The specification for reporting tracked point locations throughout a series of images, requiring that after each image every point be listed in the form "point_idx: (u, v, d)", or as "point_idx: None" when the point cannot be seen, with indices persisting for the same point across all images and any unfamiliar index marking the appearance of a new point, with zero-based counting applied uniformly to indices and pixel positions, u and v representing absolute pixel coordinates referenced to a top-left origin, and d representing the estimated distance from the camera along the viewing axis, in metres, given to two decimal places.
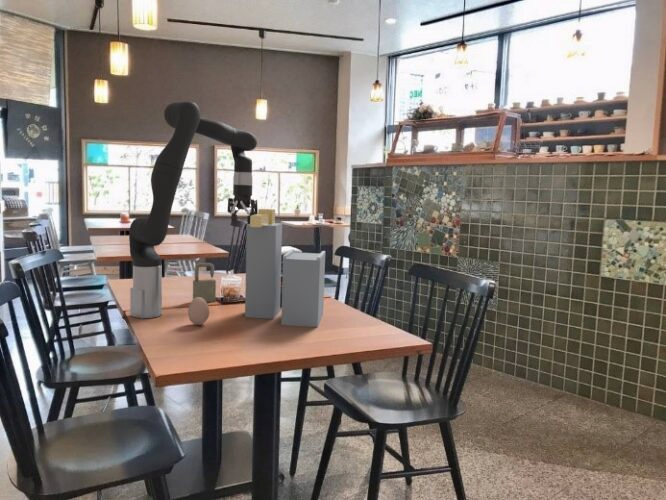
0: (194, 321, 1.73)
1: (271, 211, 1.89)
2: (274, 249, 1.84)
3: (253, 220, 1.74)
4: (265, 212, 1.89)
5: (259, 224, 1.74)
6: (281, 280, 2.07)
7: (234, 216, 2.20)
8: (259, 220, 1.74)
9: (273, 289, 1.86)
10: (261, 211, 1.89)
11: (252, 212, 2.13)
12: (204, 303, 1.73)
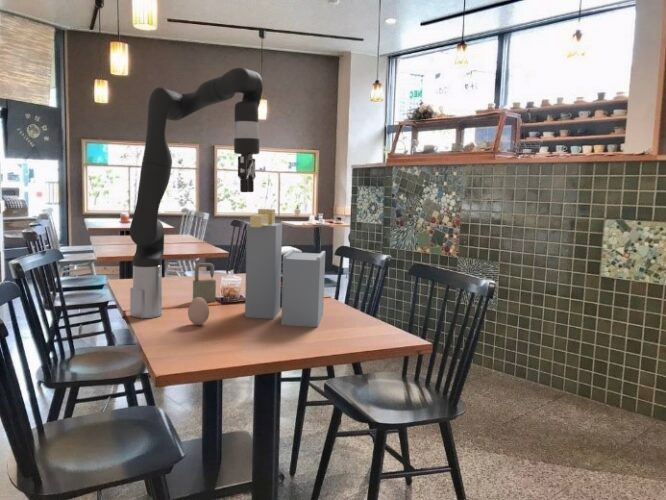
0: (194, 321, 1.73)
1: (271, 211, 1.89)
2: (274, 249, 1.84)
3: (253, 220, 1.74)
4: (265, 212, 1.89)
5: (259, 224, 1.74)
6: (281, 280, 2.07)
7: None
8: (259, 220, 1.74)
9: (273, 289, 1.86)
10: (261, 211, 1.89)
11: (255, 175, 1.71)
12: (204, 303, 1.73)
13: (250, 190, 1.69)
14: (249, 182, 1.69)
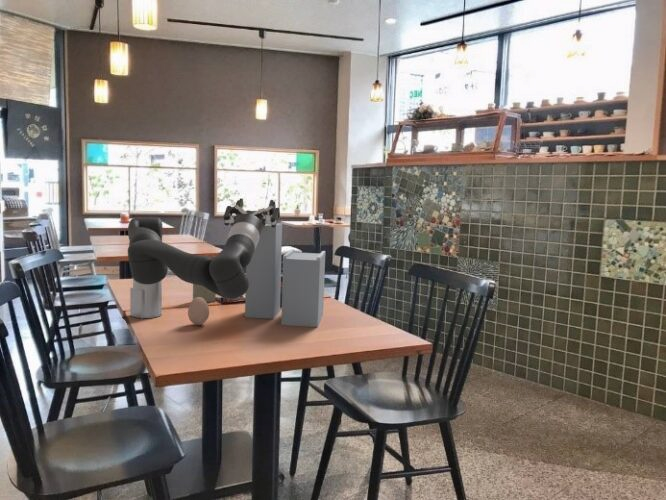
0: (194, 321, 1.73)
1: None
2: (274, 249, 1.84)
3: None
4: None
5: None
6: (281, 280, 2.07)
7: None
8: None
9: (273, 289, 1.86)
10: None
11: (228, 207, 1.46)
12: (204, 303, 1.73)
13: (242, 201, 1.50)
14: (240, 207, 1.48)
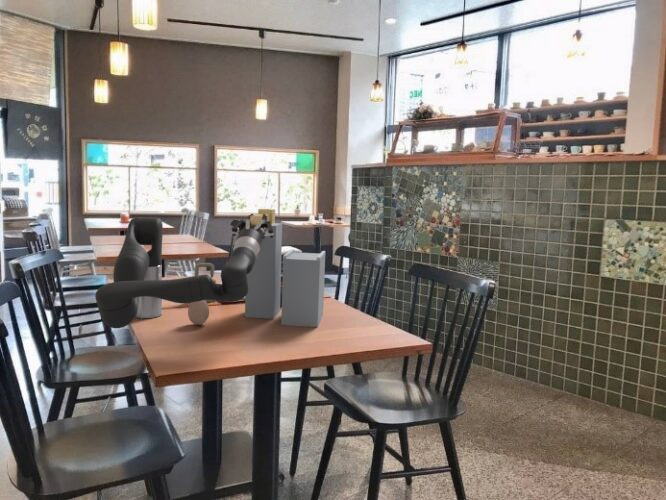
0: (194, 321, 1.73)
1: (271, 211, 1.89)
2: (274, 249, 1.84)
3: (253, 220, 1.74)
4: (265, 212, 1.89)
5: None
6: (281, 280, 2.07)
7: None
8: (259, 220, 1.74)
9: (273, 289, 1.86)
10: (261, 211, 1.89)
11: (241, 221, 1.74)
12: (204, 303, 1.73)
13: None
14: None
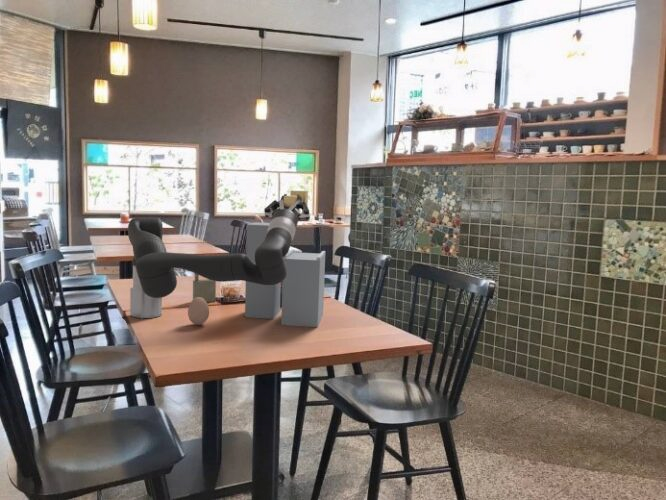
0: (194, 321, 1.73)
1: (304, 193, 1.76)
2: None
3: (287, 201, 1.62)
4: (298, 194, 1.77)
5: None
6: None
7: (296, 201, 1.64)
8: (293, 201, 1.62)
9: (273, 289, 1.86)
10: (293, 193, 1.77)
11: (274, 201, 1.62)
12: (204, 303, 1.73)
13: None
14: None
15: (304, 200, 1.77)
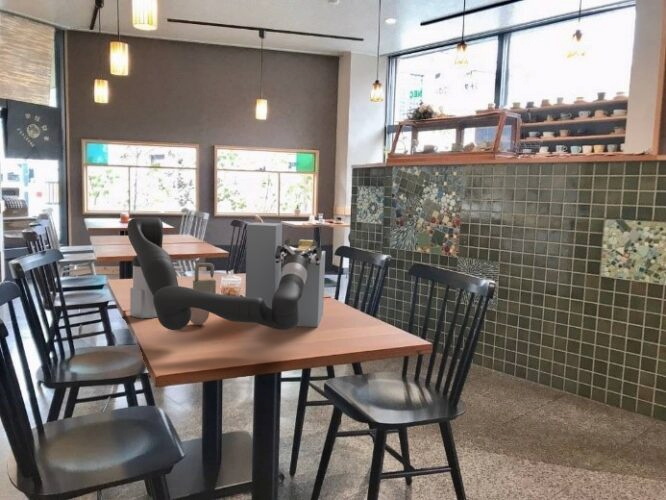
0: (194, 321, 1.73)
1: (312, 243, 1.86)
2: (274, 249, 1.84)
3: None
4: (306, 244, 1.86)
5: None
6: None
7: (312, 246, 1.72)
8: None
9: (273, 289, 1.86)
10: (301, 243, 1.86)
11: (278, 247, 1.70)
12: None
13: (289, 241, 1.74)
14: (288, 246, 1.73)
15: None
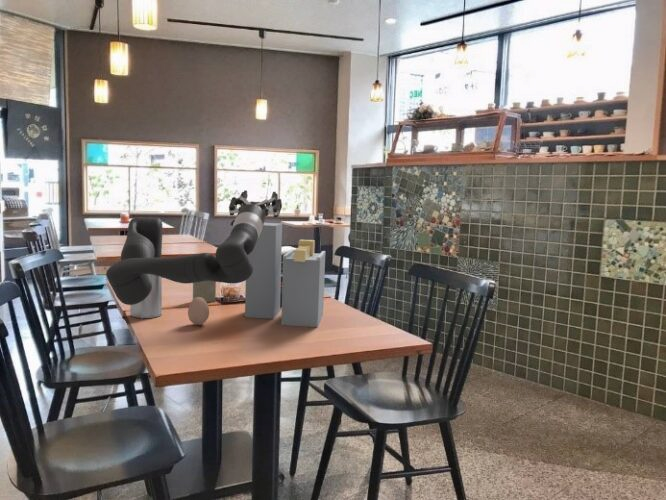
0: (194, 321, 1.73)
1: (312, 243, 1.86)
2: (274, 249, 1.84)
3: (297, 255, 1.71)
4: (306, 244, 1.86)
5: (303, 259, 1.71)
6: (281, 280, 2.07)
7: None
8: (303, 254, 1.71)
9: (273, 289, 1.86)
10: (301, 243, 1.86)
11: (233, 198, 1.55)
12: (204, 303, 1.73)
13: (246, 193, 1.59)
14: (245, 198, 1.57)
15: (312, 250, 1.86)
